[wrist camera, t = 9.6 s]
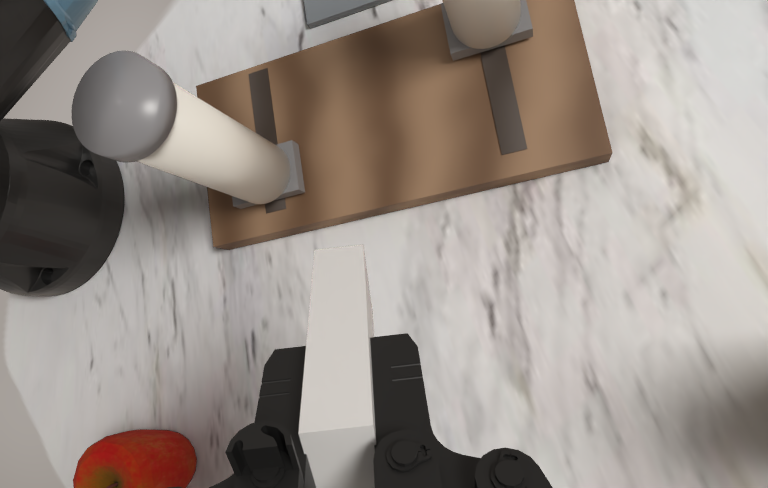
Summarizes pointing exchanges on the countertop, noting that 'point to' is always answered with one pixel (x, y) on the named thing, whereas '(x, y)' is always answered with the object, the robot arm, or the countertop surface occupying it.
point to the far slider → (178, 132)
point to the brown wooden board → (412, 120)
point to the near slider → (484, 24)
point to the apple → (137, 461)
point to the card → (334, 9)
